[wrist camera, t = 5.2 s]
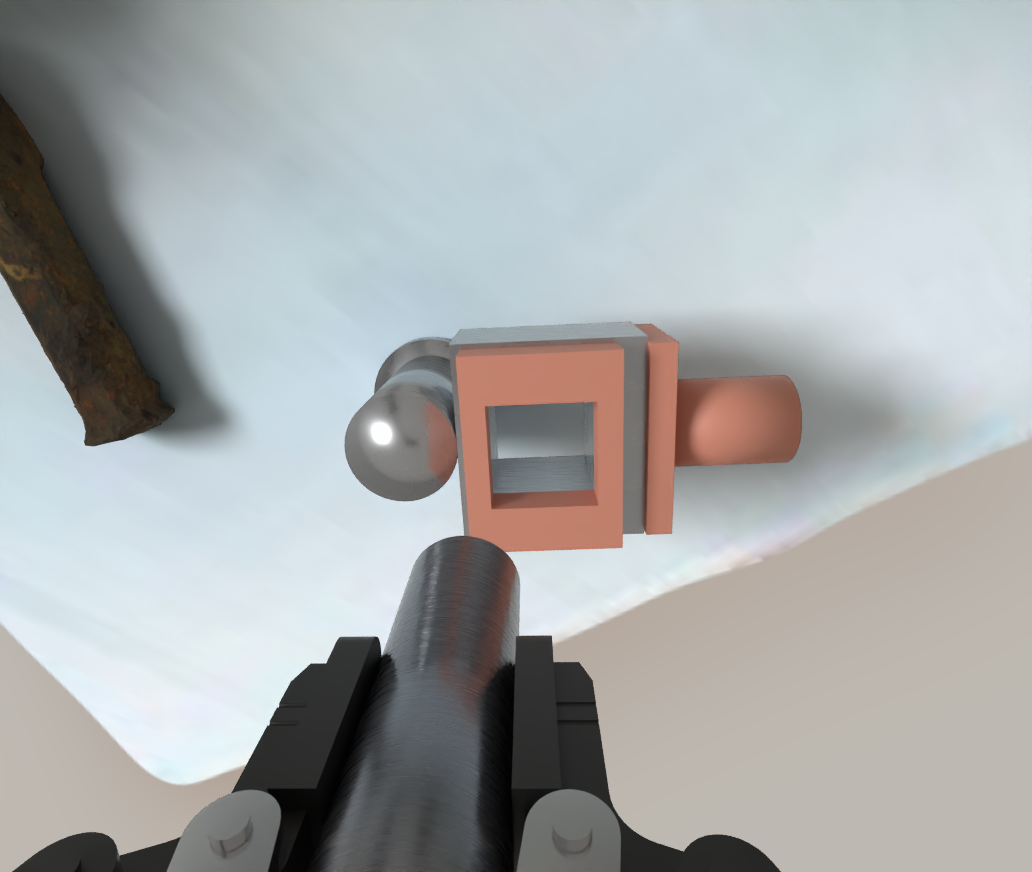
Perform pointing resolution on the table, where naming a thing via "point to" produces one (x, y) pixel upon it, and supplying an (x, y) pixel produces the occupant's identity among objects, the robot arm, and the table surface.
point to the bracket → (613, 436)
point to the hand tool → (67, 300)
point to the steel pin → (435, 727)
